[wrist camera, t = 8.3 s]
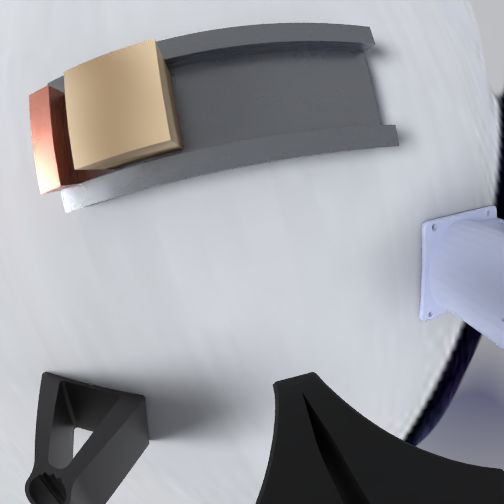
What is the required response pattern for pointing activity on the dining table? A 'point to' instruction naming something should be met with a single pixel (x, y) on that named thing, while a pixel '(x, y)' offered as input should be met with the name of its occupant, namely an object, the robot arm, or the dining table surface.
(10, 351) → the dining table surface
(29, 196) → the dining table surface
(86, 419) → the phone stand
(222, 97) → the chute
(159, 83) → the oak block
